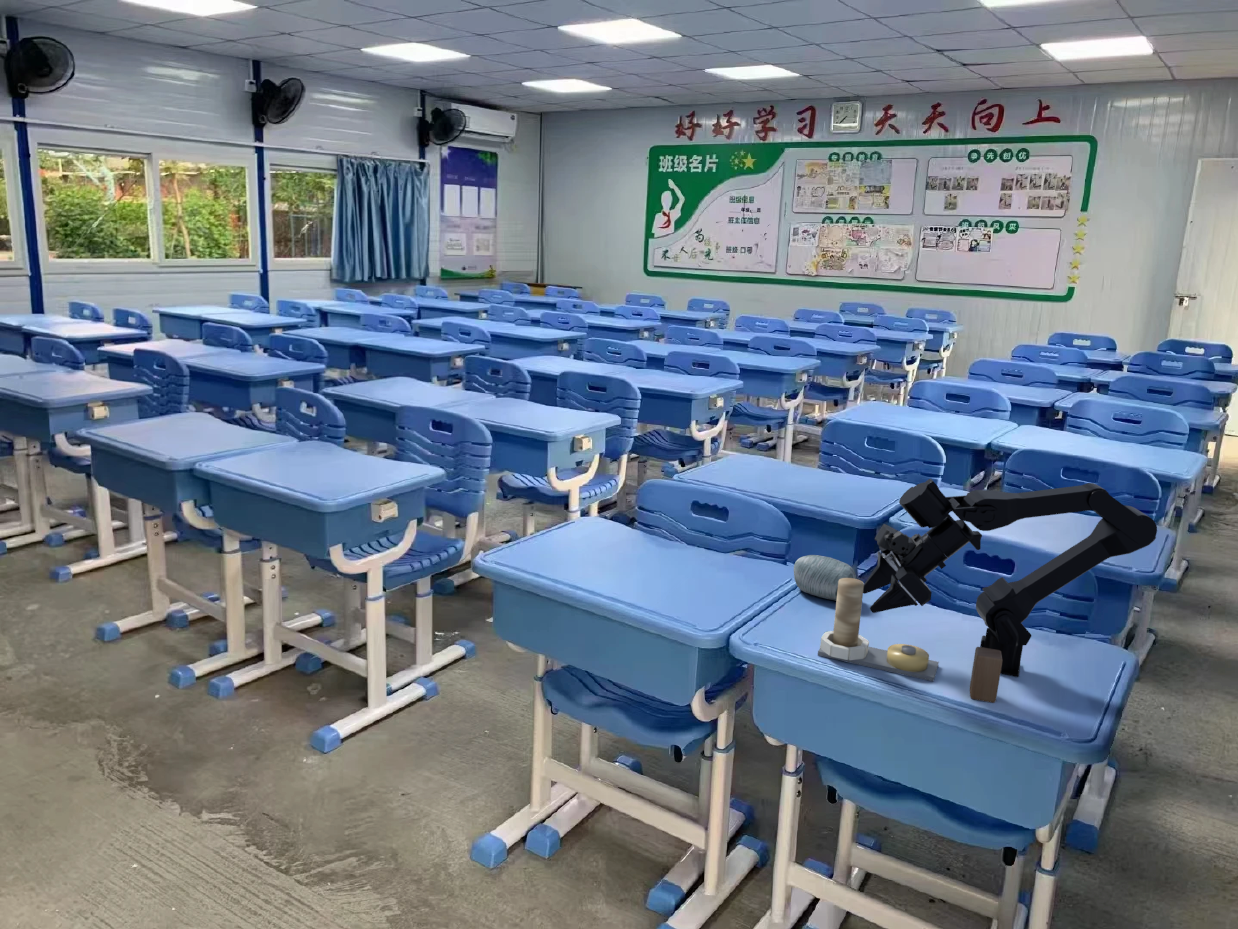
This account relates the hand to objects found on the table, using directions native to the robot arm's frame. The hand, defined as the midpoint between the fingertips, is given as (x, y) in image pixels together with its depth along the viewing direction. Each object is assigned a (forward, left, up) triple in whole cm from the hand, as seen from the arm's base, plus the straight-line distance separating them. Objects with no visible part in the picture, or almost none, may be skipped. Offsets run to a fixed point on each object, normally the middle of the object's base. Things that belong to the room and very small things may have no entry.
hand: (866, 601), depth 168 cm
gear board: (-3, +1, -10) cm, 11 cm away
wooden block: (-21, +6, -11) cm, 24 cm away
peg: (+3, +1, -10) cm, 10 cm away
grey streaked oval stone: (+13, -26, -11) cm, 31 cm away
